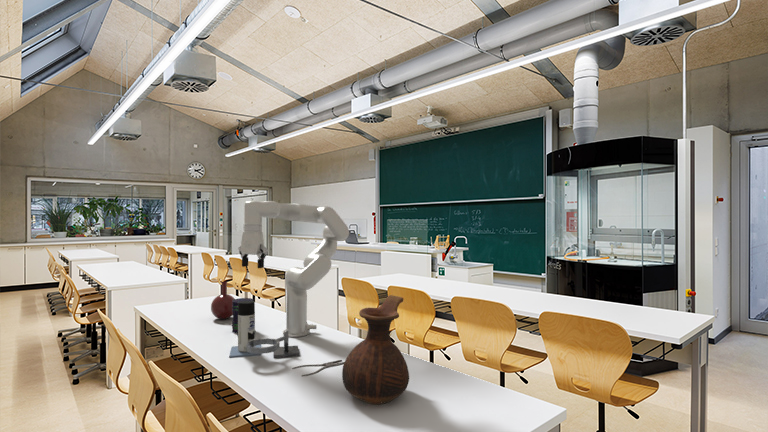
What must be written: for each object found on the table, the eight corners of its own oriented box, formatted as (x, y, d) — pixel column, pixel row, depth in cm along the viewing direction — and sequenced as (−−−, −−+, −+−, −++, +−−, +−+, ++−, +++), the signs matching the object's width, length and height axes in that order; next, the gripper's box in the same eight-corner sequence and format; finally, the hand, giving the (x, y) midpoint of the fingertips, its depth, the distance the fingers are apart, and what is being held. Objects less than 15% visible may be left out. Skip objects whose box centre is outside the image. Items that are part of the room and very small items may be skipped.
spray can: (249, 353, 168) (250, 303, 168) (234, 351, 169) (234, 302, 169) (257, 347, 174) (258, 300, 174) (242, 346, 176) (243, 299, 176)
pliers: (288, 368, 152) (330, 355, 167) (288, 371, 152) (330, 357, 167) (303, 376, 145) (346, 361, 160) (303, 378, 145) (346, 363, 160)
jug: (420, 406, 125) (421, 306, 125) (350, 415, 119) (351, 310, 118) (397, 378, 146) (398, 293, 145) (336, 384, 139) (337, 296, 139)
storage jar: (249, 333, 197) (249, 302, 196) (228, 333, 197) (228, 302, 197) (256, 328, 206) (256, 298, 206) (236, 327, 207) (236, 297, 207)
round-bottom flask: (231, 322, 217) (231, 284, 217) (206, 321, 217) (206, 283, 217) (240, 315, 230) (240, 280, 230) (216, 315, 230) (217, 279, 230)
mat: (261, 345, 179) (261, 344, 179) (260, 355, 168) (260, 353, 168) (231, 348, 176) (231, 346, 176) (229, 357, 164) (229, 356, 164)
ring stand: (297, 348, 176) (297, 327, 176) (301, 364, 157) (301, 341, 157) (248, 352, 171) (248, 330, 171) (245, 369, 152) (246, 345, 152)
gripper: (232, 228, 185) (232, 266, 185) (260, 229, 177) (260, 269, 177) (245, 228, 192) (245, 264, 192) (273, 229, 183) (273, 267, 184)
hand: (252, 267), depth 184 cm, fingers open, 9 cm apart
